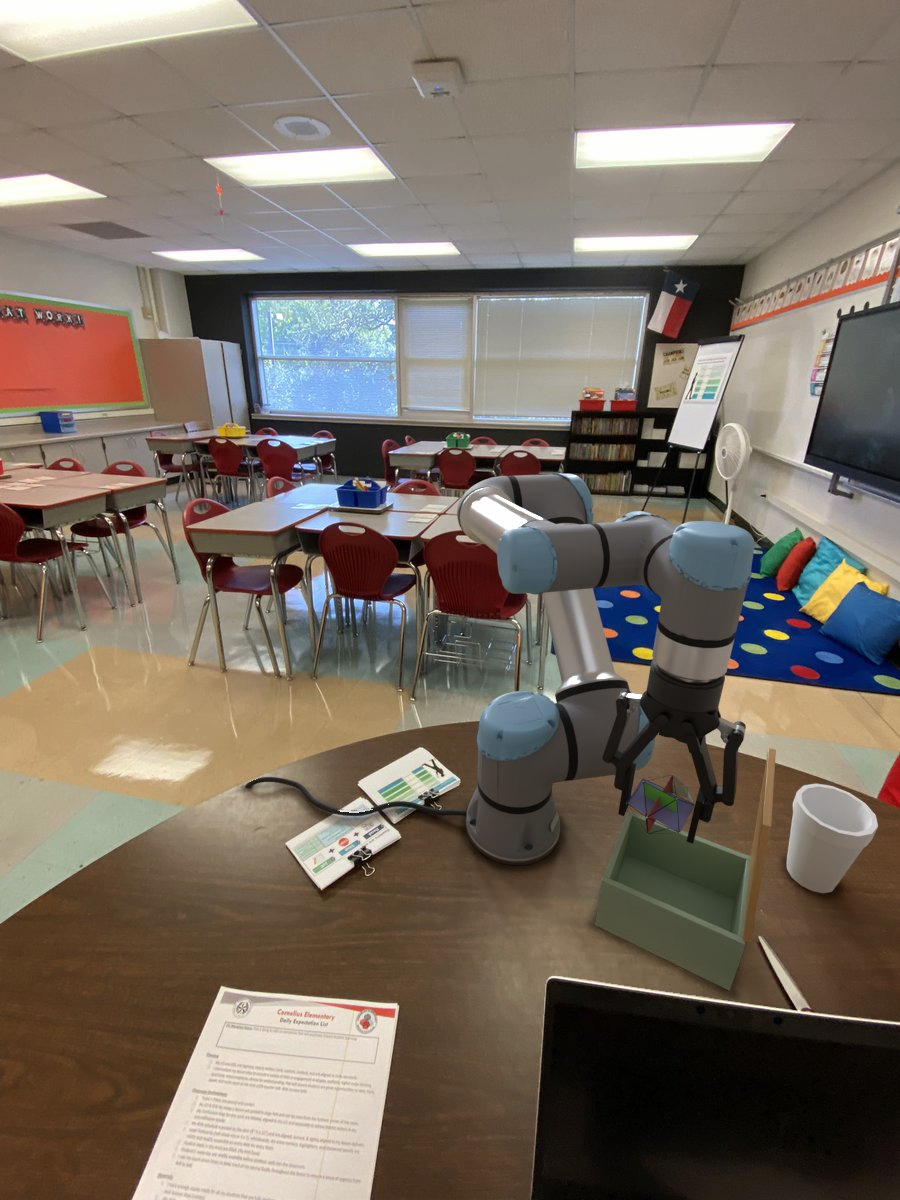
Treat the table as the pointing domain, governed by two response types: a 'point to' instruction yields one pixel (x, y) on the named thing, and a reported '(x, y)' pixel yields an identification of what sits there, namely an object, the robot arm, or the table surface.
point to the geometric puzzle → (662, 803)
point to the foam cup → (827, 835)
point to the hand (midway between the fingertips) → (656, 821)
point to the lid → (759, 844)
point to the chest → (677, 898)
